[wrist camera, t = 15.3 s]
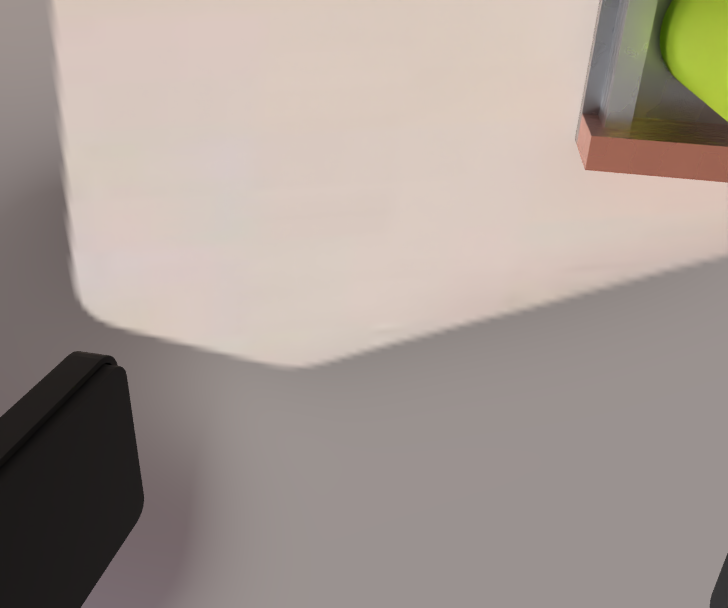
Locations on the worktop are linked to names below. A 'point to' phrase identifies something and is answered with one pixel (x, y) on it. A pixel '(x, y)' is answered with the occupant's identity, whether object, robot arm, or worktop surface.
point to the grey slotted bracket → (644, 103)
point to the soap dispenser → (698, 49)
